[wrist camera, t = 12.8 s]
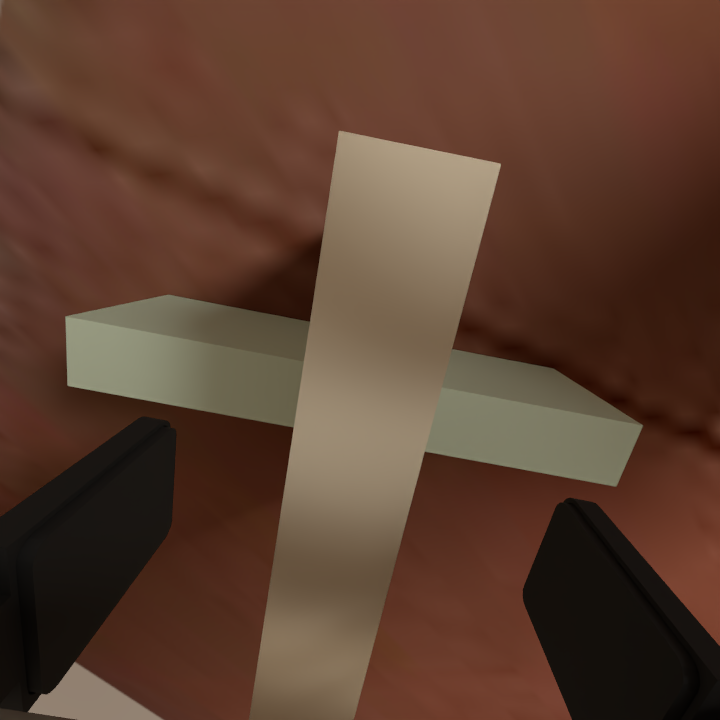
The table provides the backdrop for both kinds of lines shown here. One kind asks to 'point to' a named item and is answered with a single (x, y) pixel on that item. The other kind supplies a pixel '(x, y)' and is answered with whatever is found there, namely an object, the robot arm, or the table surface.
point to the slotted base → (284, 371)
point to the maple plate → (364, 411)
